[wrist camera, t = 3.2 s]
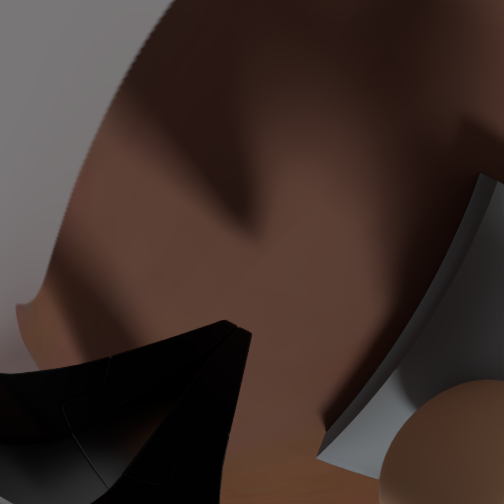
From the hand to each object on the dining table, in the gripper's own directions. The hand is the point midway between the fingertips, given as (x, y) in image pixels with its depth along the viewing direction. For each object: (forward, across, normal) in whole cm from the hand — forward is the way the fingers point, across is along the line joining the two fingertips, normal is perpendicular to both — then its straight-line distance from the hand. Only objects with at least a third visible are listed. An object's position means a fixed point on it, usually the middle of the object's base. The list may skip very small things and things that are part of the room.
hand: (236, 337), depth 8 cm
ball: (-1, -8, 0) cm, 8 cm away
